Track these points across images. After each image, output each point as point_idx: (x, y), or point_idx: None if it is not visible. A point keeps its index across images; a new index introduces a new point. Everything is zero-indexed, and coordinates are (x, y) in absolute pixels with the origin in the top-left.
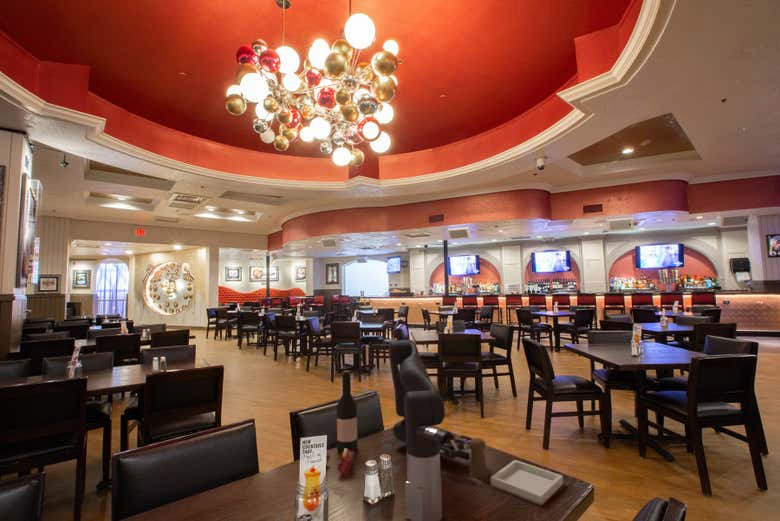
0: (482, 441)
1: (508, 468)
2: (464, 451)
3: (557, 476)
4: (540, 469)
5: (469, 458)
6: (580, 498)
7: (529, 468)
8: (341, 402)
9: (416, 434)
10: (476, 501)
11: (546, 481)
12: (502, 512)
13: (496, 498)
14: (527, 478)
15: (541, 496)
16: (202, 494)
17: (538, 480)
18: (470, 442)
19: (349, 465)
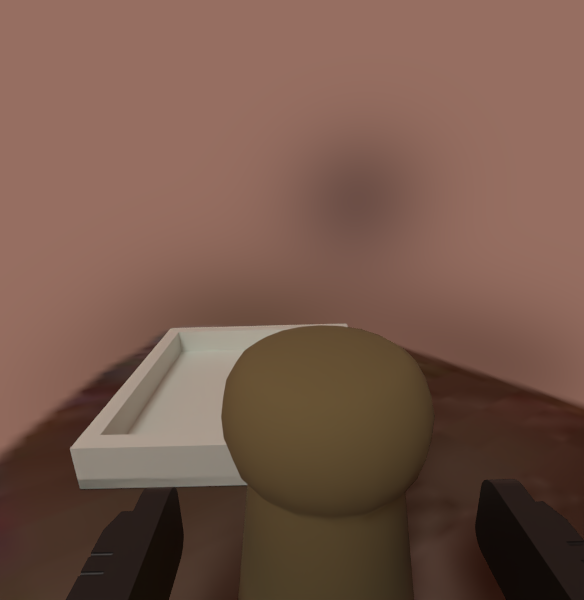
0: (308, 326)
1: (205, 437)
2: (533, 540)
3: (177, 336)
4: (153, 361)
5: (478, 522)
6: (234, 326)
7: (137, 398)
8: None
9: None
10: (575, 457)
11: (197, 366)
12: (492, 382)
13: (452, 421)
14: (211, 400)
15: (343, 324)
16: None
17: (205, 378)
18: (421, 403)
19: None
